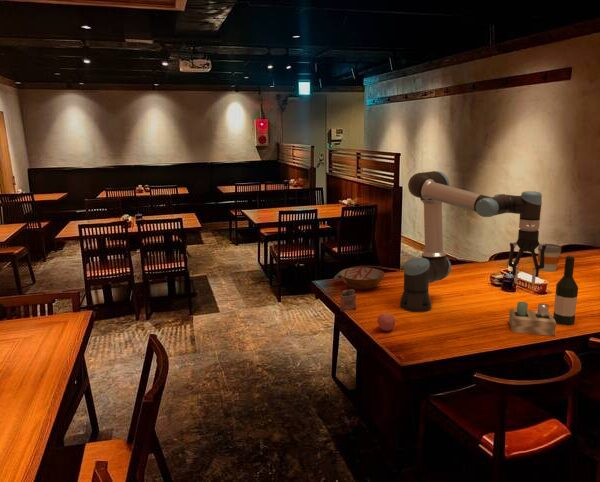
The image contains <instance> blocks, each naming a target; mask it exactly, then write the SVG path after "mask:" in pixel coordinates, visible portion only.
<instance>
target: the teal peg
mask: <svg viewBox="0 0 600 482" xmlns="http://www.w3.org/2000/svg"><path fill="white" fill-rule="evenodd" d="M528 306H529V303H527V302H525V301H517V304H516V309H517V314H516V316H521V317H527V310H528V309H529V308H528Z"/></svg>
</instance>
